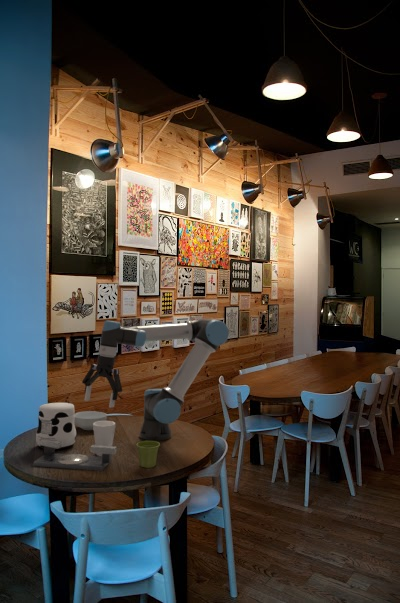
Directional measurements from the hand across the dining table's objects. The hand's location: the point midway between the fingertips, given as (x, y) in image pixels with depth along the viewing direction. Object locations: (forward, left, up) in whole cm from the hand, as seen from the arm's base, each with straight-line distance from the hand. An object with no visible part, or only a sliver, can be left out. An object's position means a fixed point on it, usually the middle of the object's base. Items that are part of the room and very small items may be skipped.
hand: (98, 404), depth 215 cm
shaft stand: (+4, +18, -20) cm, 27 cm away
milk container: (+20, -2, -21) cm, 29 cm away
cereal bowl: (+16, -34, -21) cm, 43 cm away
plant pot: (-26, +15, -21) cm, 36 cm away
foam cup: (-4, +4, -21) cm, 21 cm away
